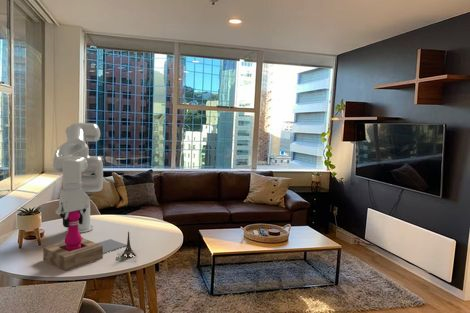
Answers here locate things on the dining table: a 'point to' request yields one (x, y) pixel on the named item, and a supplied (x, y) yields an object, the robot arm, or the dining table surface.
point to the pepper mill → (73, 232)
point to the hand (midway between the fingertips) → (73, 224)
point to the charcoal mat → (111, 245)
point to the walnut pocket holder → (72, 254)
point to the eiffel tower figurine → (126, 252)
